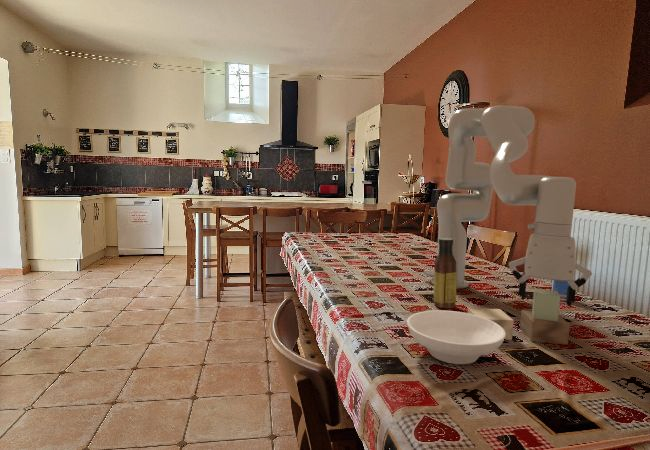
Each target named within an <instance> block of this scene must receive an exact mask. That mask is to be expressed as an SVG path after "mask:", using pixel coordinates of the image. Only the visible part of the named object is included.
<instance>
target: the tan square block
mask: <svg viewBox="0 0 650 450" xmlns="http://www.w3.org/2000/svg"><path fill="white" fill-rule="evenodd" d="M570 326H571V323H569V322H568V321H566V320H565V319H564V318H563V317H561V316H560V315H559V314H558V322H557V321H549V320H542V319H535V318H533V314H532V310H521V311H520V323H519V330H520V329H521V330H522V331H523V332H522V331H521V330H520V331H521V332H522V333H523V335H524V336H525V337H526V336H527V337H528V338H529V339H530V340H529V339H528V338H527V337H526V338H527V339H528V340H529V342H531V341H536V342H535V343H544V342H548V343H547V344H558V345H568V344H569V337H570Z"/></svg>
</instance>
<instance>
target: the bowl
mask: <svg viewBox="0 0 650 450" xmlns="http://www.w3.org/2000/svg"><path fill="white" fill-rule="evenodd" d="M406 325H407V328H408V331H409V333H410V335H411V336H412V338H413V339H414V340H415V341H416V342H417V343H418V344H419V345H420V346H423V347H424V348H426V349H427V351H428V352H429V354H430V355H431V356H432V357H433V358H435V359H437V360H439V361H442V362H445V363H448V364H454V365H467V364H472V363H475V362H476V361H477V360H478V359H479V358H480V357H482V356H485V355H490V354H491V353H493V352H495V351H496V350H497V349H499V348H500V346H501V345H503V343H504V341H505V340H504V339H505V335H506V333H505V330H504V329H503V328H502V327H501V326H499V325H498V324H497V323H495V322H493V321H491V320H488V319H486V318H483V317H480V316H477V315H473V314H468V312H462V311H455V310H454V311H453V310H441V309H439V310H437V309H436V310H435V309H433V310H423V311H420V312H416V313H413V314H411V315H410V316H409V317H408V318H407V319H406Z"/></svg>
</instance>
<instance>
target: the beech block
mask: <svg viewBox="0 0 650 450" xmlns="http://www.w3.org/2000/svg"><path fill="white" fill-rule="evenodd" d="M467 313H468V314H473V315H477V316H480V317H483V318H486V319H488V320H491V321H493V322H495V323H497V324H498V325H499V326H501V327H502V328H503V329H504V330H505V333H506V335H505V340H504V341H513V332H514V319H513V318H512V317H510V315H508V314H507V313H505V312H504V311H503V310H502V309H501V308H482V307H481V308H479V307H468V308H467Z"/></svg>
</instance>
